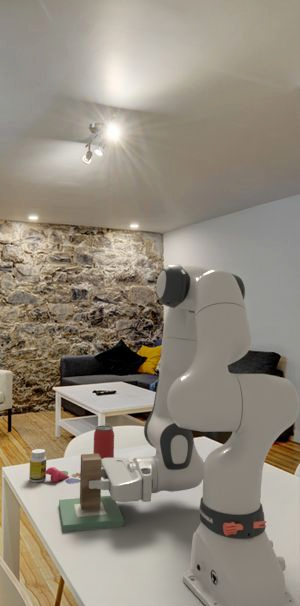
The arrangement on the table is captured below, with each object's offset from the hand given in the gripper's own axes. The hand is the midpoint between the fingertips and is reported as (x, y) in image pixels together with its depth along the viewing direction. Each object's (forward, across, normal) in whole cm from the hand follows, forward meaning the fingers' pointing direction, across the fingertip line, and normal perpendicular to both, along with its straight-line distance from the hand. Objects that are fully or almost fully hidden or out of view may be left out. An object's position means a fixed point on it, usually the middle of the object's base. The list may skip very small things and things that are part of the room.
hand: (87, 479), depth 113 cm
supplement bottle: (+11, -26, +9) cm, 30 cm away
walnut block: (-1, 0, +6) cm, 7 cm away
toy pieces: (+2, -26, +9) cm, 28 cm away
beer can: (-10, -35, +9) cm, 37 cm away
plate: (-1, 0, +9) cm, 9 cm away
